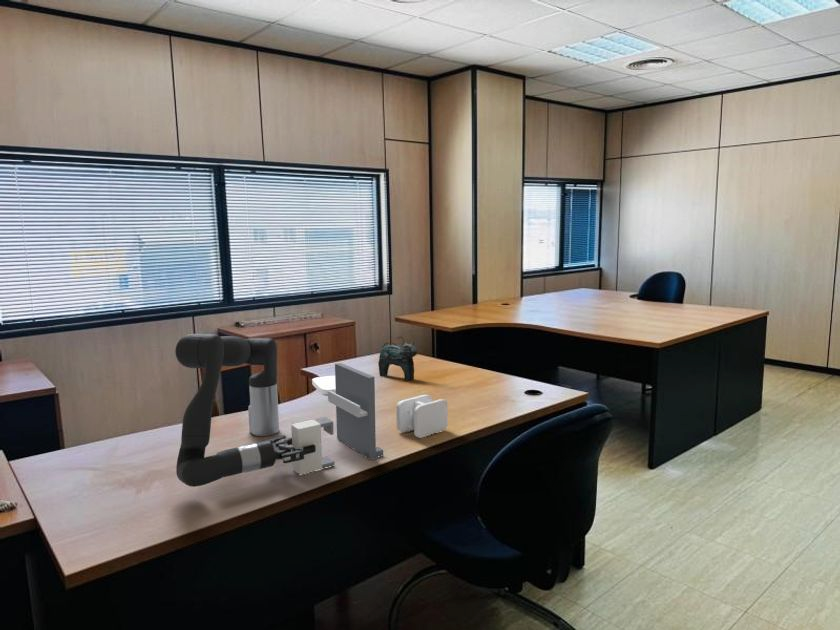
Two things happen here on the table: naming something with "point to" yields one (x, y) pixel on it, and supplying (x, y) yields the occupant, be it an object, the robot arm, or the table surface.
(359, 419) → the wall board
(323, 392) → the mac mini
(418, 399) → the cable organizer
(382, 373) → the ceramic cat
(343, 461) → the table surface
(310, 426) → the white block
